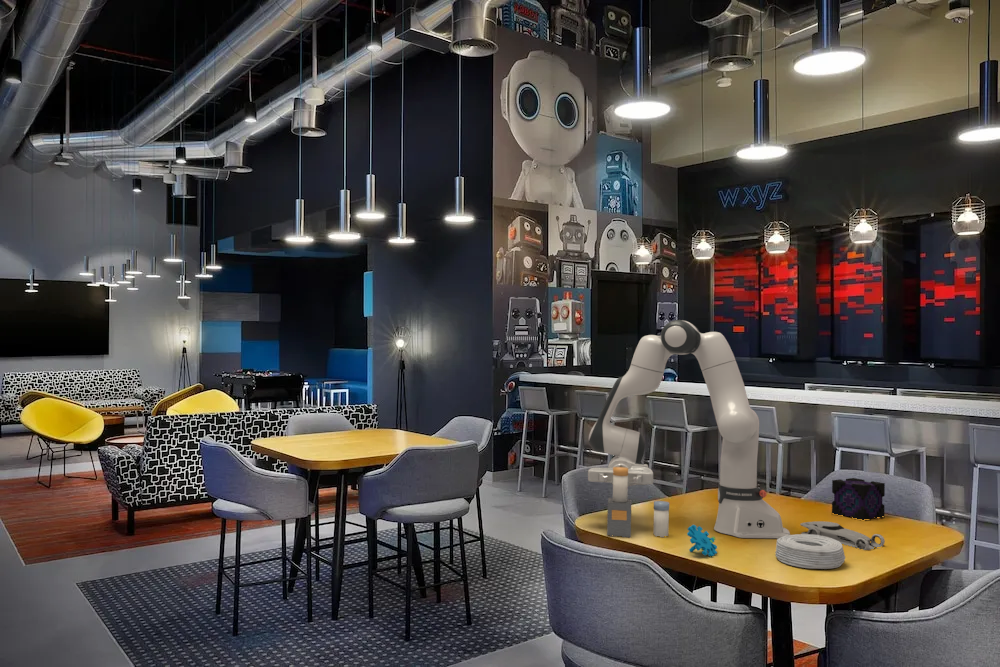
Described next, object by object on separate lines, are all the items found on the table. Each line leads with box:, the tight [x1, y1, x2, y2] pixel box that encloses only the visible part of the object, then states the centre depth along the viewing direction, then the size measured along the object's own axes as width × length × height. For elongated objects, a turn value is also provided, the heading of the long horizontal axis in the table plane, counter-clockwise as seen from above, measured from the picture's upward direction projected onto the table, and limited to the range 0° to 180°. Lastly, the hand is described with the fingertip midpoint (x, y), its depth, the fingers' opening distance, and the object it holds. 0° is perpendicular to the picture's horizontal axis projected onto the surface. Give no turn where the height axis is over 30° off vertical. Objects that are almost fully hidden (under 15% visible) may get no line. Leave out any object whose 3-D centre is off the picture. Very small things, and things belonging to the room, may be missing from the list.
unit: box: [606, 497, 632, 538], centre depth 237 cm, size 7×9×10 cm
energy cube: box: [831, 477, 886, 520], centre depth 271 cm, size 12×12×12 cm
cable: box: [775, 533, 846, 570], centre depth 209 cm, size 18×18×6 cm
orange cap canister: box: [612, 467, 629, 502], centre depth 237 cm, size 5×5×10 cm
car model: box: [800, 520, 886, 551], centre depth 235 cm, size 11×24×5 cm, turn 36°
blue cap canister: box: [652, 500, 670, 538], centre depth 236 cm, size 5×5×10 cm
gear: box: [686, 524, 718, 558], centre depth 216 cm, size 11×6×10 cm
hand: (620, 480), depth 236 cm, fingers open, 8 cm apart
